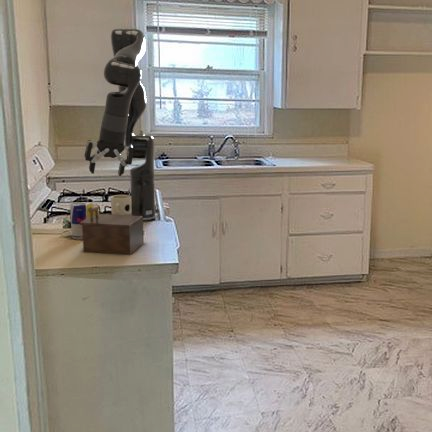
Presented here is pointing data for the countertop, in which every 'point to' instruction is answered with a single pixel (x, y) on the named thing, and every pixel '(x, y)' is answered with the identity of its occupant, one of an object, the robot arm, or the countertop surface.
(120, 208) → the character mug
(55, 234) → the countertop surface
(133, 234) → the compartment
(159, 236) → the countertop surface
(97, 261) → the countertop surface
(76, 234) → the energy drink
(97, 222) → the lid
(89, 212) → the lemon
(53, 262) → the countertop surface
